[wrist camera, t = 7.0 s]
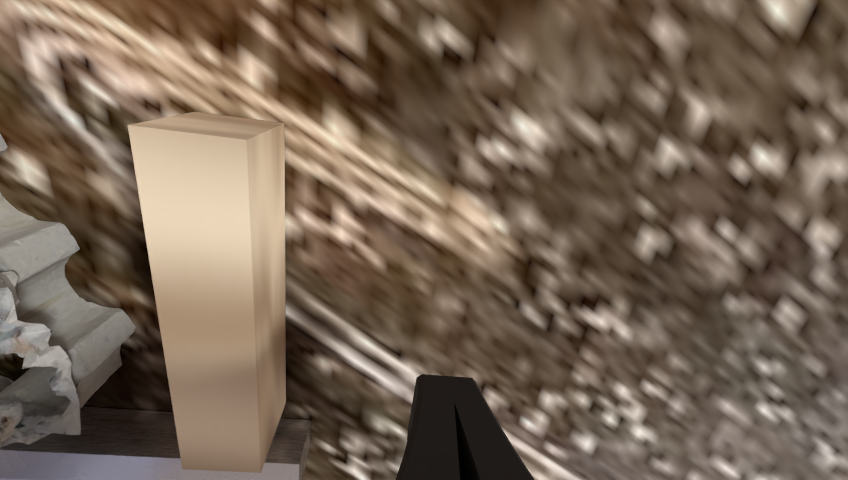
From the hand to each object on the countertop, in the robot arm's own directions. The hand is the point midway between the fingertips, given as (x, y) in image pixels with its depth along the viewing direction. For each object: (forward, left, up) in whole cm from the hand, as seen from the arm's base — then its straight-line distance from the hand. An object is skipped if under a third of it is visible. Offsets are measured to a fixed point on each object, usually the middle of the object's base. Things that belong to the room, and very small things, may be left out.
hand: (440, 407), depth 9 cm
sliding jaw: (0, +6, -5) cm, 8 cm away
